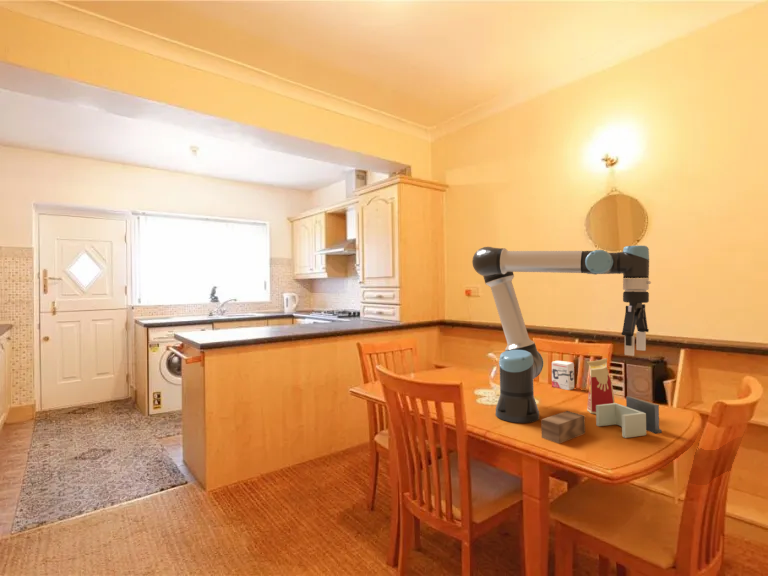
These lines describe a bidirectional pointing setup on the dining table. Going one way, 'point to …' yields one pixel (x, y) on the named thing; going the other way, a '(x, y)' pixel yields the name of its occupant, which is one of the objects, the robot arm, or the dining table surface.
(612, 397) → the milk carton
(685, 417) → the dining table surface
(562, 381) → the ink box
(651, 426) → the plate
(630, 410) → the socket block
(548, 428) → the walnut bar
